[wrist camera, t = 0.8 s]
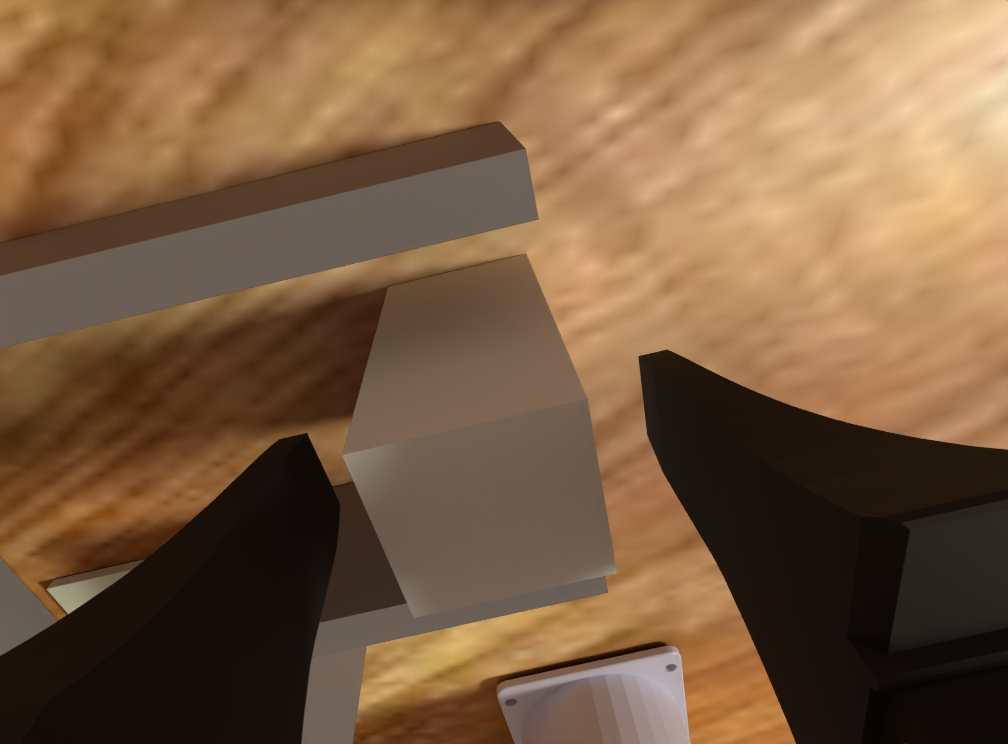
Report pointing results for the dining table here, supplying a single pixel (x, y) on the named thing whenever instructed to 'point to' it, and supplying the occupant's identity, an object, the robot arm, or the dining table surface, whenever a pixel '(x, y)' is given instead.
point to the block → (477, 443)
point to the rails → (263, 260)
